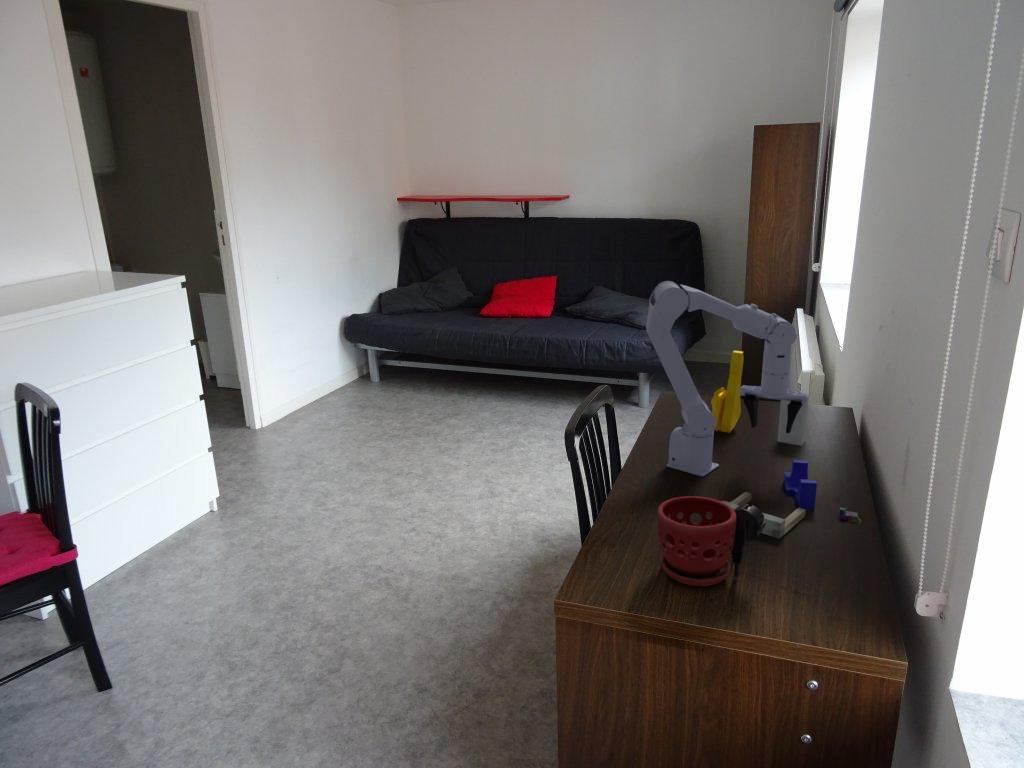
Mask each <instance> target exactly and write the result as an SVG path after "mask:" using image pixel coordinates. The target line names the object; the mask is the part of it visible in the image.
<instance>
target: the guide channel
mask: <svg viewBox="0 0 1024 768" xmlns="http://www.w3.org/2000/svg"><path fill="white" fill-rule="evenodd" d="M750 501H752V493H750V492H747V491H744V492H743V493H742V494H741V495H739V496H738V497H736V498H735V499H733V500H731V501H729V502H728V501H727V500H726V501H725V500H722V501H721V502H723V503H725V504H727V505H729V506H730V507H731V508H733V510H735V509H736V508H737V507H738V506H740V505H742V504H748V503H749V502H750ZM806 510H807V509H803V508H799V507H797V508H796V509H795V510H794V511H793V512H792V513H790V514H789V515H788V516H787V517H785V518H781V517H777V516H775V515H771V514H768V513H765V512H762V513H763V515H764V516H765V517H764V521H765V522H766V525H765V527H764V528H763V531H762V532H761V533H760V534H764V535H767V536H770V537H773V538H776V539H781V538H782V537H784V535H786V533H788V532H789V531H791V529H793V527H795V525H797V524H798V523H799V522H800V521H802V519H804V518H805V517H806Z"/></svg>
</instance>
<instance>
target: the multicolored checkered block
mask: <svg viewBox="0 0 1024 768" xmlns="http://www.w3.org/2000/svg"><path fill="white" fill-rule="evenodd" d="M838 513H839V514H838V519H839V520H845V521H847V522H848V523H853V524H860V525H861V524H862V519H861V518H860V517H859V516H858V512H856V511H855V512H854V511H848V510H847V508H846V507H839V512H838Z"/></svg>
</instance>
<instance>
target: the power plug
mask: <svg viewBox="0 0 1024 768" xmlns="http://www.w3.org/2000/svg"><path fill="white" fill-rule="evenodd" d="M749 505H750V504H749V503H746V504H742V505H740V506H738V507H737V508H736V509H735V510H734V511H735V513H736V532H735V538H734V545H733V549H732V552H731V554H730V556H731V562H732V563H733V564H734V577H735V578H739V571H740V569H739V568H740V565H741V564H742V563H743V561H744V560H743V559H744V557H745V553H746V550H747V544H748V543H749V542H750V541H754V540H755V539H756V538H757V537H758V536H759V535H760V534H762V533H761V532H762V531H763V528H764V527H765V525H766V522H765V521H764V517H765V516H764V515H763V513H764V512H762V510H761V509H759V508H758V507H756V506H755V505H752V506H749Z"/></svg>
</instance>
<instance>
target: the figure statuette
mask: <svg viewBox="0 0 1024 768" xmlns="http://www.w3.org/2000/svg"><path fill="white" fill-rule="evenodd" d="M744 359H745V358H744V351H740V350H733V351H732V352H731V359H730V364H729V365H730V366H729V375H728V376H729V377H728V380H727V384H726V385H727V386H726V389H725V387H723V386H721V387H720V388H718V389H717V390H716V391H715V392H714V394H713V397H712V398H710V400H711V402H710V403H711V407H712V409H711V413H712V414H713V415H714V416H715V418H716V427H715V429H714V431H718V430H719V431H720V432H722V433H729V434H731V433H732V431H733V429H734V428H735V426H736V424H737V422H738V420H739V418H740V417H741V411H742V409H741V405H742V404H741V395H740V389H741V387H742V386H741V385H742V376H743V368H744V367H743V366H744Z"/></svg>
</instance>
